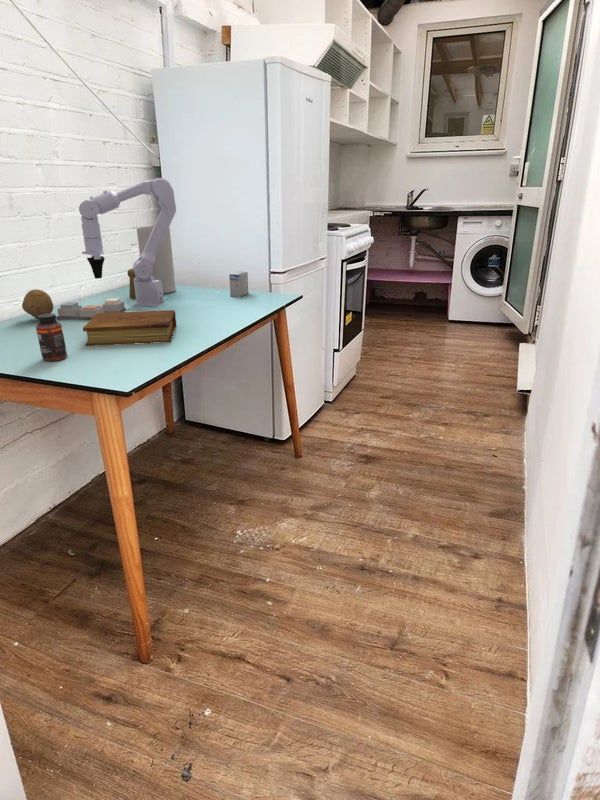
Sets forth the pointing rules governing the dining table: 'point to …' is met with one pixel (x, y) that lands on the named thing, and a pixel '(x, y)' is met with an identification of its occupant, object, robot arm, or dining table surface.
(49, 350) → the supplement bottle
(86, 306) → the button terracotta
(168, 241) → the tall grey block
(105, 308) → the board
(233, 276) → the medicine box
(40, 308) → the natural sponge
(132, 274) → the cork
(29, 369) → the dining table surface
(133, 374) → the dining table surface
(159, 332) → the diary
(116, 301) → the button cream
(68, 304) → the button slate
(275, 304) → the dining table surface
